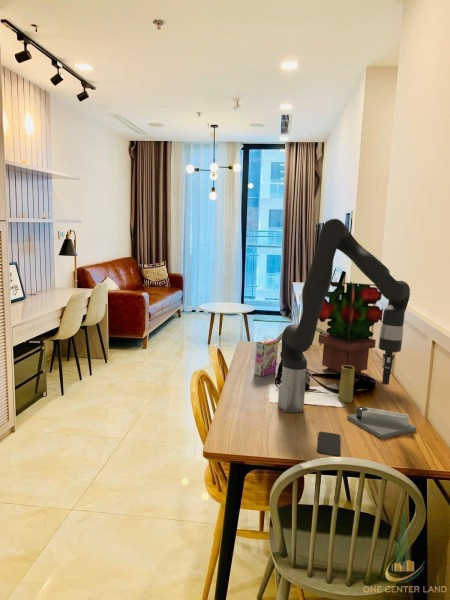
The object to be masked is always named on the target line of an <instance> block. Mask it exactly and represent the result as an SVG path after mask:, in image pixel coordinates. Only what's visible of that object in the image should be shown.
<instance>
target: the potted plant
mask: <svg viewBox="0 0 450 600" xmlns="http://www.w3.org/2000/svg"><path fill="white" fill-rule="evenodd" d="M349 281H350V282H341V281H331V283H330V286H331V287H333V288H334V290H333V291H328V292H327V295H326V298H328V300H327V299H326V298H325V300H324V303H323V306H322V309H321V313H320V316H319V319H318V321H320V322H321V323H324V322H326V320H328V321H327V323H326V325H327V326H328V328H326V329H325V331H326V333H323V334H319V335H318V343H319V344H322V345H323V350H322V359H321V360H322V361H321V366H323V367H325V368H326V369H327V371H330V372H333V373H335V372H336V374H338V373H339V374H338V375H341V371H342V366H343V365H349V366H353V367H354V368H355V373H354V375H358V374H361V373H362V371H367V370H368V363H369V362H368V361H369V353H370V349H375V348H376V344H377V343H376V341H377V339H374V338H372V337H373V336H374V332H373V331H370V329H371V327H373V326H375V324H378V323H379V321H380V323H381V324H382V321H383V313H384V307H382V308H380V307H379V306H378V305H375V304H377V302H379V301H381V300H382V296H383V295H382V294H381V293H380V291H379V290H378V288H377V287H376V286H375V284H374V283H373V284H370V283H355V282H352V281H351V280H349ZM344 284H345V285H346V287H345V285H344Z"/></svg>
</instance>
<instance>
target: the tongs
mask: <svg viewBox="0 0 450 600" xmlns="http://www.w3.org/2000/svg"><path fill="white" fill-rule="evenodd" d="M355 412H356V413H355V414H356V418H358V419H360V420H366V421H372V422H377V423H383V424H389V425H394V426H400V427H406V428H408V423H409V424H410V422H409V421H410V416H409V414H408V413H403V412H402V413H401V412H396V411H391V410H385V409H382V410H379V409H378V408H371V407H367V406H357V407H356V411H355Z"/></svg>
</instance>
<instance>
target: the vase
mask: <svg viewBox="0 0 450 600" xmlns="http://www.w3.org/2000/svg"><path fill="white" fill-rule="evenodd" d="M354 373H355V368H354V367H353V366H349V365H343V366H342V371H341V374H340V380H339V381H340V382H339V389H338V396H337V400H338V399H339V401H340V402H342V401H343V402H342V403H352V402H353V400H354V398H353V397H354V383H355V374H354Z"/></svg>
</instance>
